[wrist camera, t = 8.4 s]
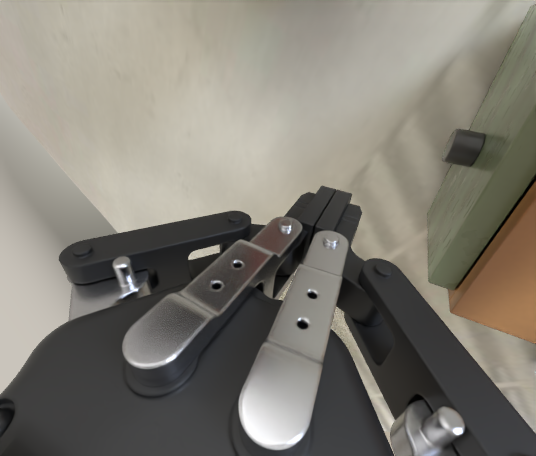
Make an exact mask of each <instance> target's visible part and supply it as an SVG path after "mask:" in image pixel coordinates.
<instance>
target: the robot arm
mask: <svg viewBox="0 0 536 456" xmlns="http://www.w3.org/2000/svg"><path fill="white" fill-rule="evenodd" d="M351 197H352V194H351V193H348V192H344V191H340V190H337V191H336V189H333V188H329V187H325V186H321V187H320V189H319V190H318V191H317V193H316V194H314V193H310V192H308V193H306V194H303V195H301V196H300V198H299V199H298V200H297V201H296V203H295V204H294V205H293V206H292V207H291V209H290V210H289V211H288V212H287V214H286V215H285V216H284V217H277V218H274V219H273V220H271V221H270V222H269V223H268V224H267V225H257V224H251V218H250V216H249V215H248V214H246V213H244V212H241V211H228V212H223V213H218V214H213V215H208V216H203V217H198V218H193V219H188V220H183V221H178V222H173V223H168V224H163V225H158V226H153V227H148V228H143V229H138V230H133V231H128V232H123V233H118V234H113V235H108V236H103V237H98V238H93V239H88V240H83V241H79V242H76V243H74V244H72V245H70V246H68V247H67V248H66V249H64V250H63V251H62V252H61V254H60V256H59V261H60V263H61V265H62V267H63V268H64V270H65V272H66V274H67V278H68V281H69V283H70V284H71V286H72V291H71V302H70V312H69V321H68V322H66V323H65V324H63V325H61V326H60V327H58V328H57V329H55V330H54V331H52V332H51V333H50V334H49V335H48V336H46V337H45V338H44V339H43V340H42V341H41V342H40V343H39V344H38V346H37V347H36V348H35V349H34V350H33V352H32V354H31V355H30V357H29V358H28V360H27V361H26V363H25V364H24V366H23V367H22V369H21V370H20V372H19V373H18V374H17V376H16V377H15V378H14V379H13V381H12V382H11V383H10V385H9V386H8V387H7V388H6V389H5V390H4V391H3V392H2V393H1V394H0V456H394V454H395V456H536V434H535V432H534V431H533V430H532V429H531V428H530V426H529V425H528V424H527V423H526V422H525V420H524V419H523V418H522V417H521V416H520V414H519V413H518V412H517V411H516V409H515V408H514V407H513V406H512V405H511V403H510V402H509V401H508V400H507V399H506V397H505V396H504V395H503V394H502V393H501V391H500V390H499V389H498V388H497V386H496V385H495V384H494V383H493V382H492V380H491V379H490V378H489V377H488V376H487V374H486V373H485V372H484V371H483V370H482V368H481V367H480V366H479V365H478V363H477V362H476V361H475V360H474V359H473V357H472V356H471V355H470V354H469V353H468V351H467V350H466V349H465V348H464V347H463V345H462V344H461V343H460V342H459V340H458V339H457V338H456V337H455V336H454V334H453V333H452V332H451V331H450V330H449V328H448V327H447V326H446V325H445V324H444V322H443V321H442V320H441V319H440V317H439V316H438V315H437V314H436V313H435V311H434V310H433V309H432V308H431V307H430V305H429V304H428V303H427V302H426V301H425V299H424V298H423V297H422V296H421V294H420V293H419V292H418V291H417V290H416V288H415V287H414V286H413V285H412V284H411V282H410V281H409V280H408V279H407V278H406V276H405V275H404V274H403V273H402V271H401V270H400V269H399V268H398V267H397V266H396V265H394V264H393V263H391V262H389V261H386V260H383V259H377V258H373V259H369V260H367V261H364V260H362V259H361V258H359V257H358V256H357V255H356V254H355V253H354V252H353V251H352V249H351V244H352V242H353V239H354V236H355V233H356V230H357V227H358V224H359V221H360V218H361V215H362V211H361V209H360V206H356V205H353V204H350V200H351ZM219 244H220V253H216V254H212V255H209V256H205V257H201V258H197V259H193V260H188V256H189V255H190V253H191V252H193V251H195V250H198V249H202V248H207V247H211V246H215V245H219ZM297 267H298V268H297ZM296 269H297V271H296ZM295 271H296V273H295ZM294 273H295V275H294ZM293 277H294V278H293ZM292 279H293V280H292ZM291 281H292V282H291ZM290 282H291V284H290V287H289V289H288V291H287V294H286V296H285V298H284V300H283V301H282V300H278V299H279V298H280V296H281V295H282V293H283V292H284V291H285V289H286V288H287V286H288V285H289V283H290ZM336 306H337V307H338V308H340V309H341V310H342V311H344V312H345V314H344V318H345V321H346V323H347V325H348V327H349V329H350V331H351V333H352V335H353V337H354V339H355V341H356V343H357V345H358V347H359V349H360V351H361V353H362V355H363V357H364V359H365V361H366V363H367V365H368V367H369V369H370V371H371V373H372V375H373V377H374V379H375V381H376V383H377V385H378V387H379V389H380V391H381V393H382V395H383V397H384V399H385V401H386V403H387V405H388V407H389V409H390V411H391V413H392V415H393V417H394V419H395V422H394V423H393V425H392V427H391V432H390V439H391V445H392V448H393V451H394V454H393V451H392V449H391V447H390V444H389V442H388V440H387V438H386V436H385V433H384V431H383V428H382V426H381V424H380V421H379V419H378V417H377V414H376V412H375V410H374V407H373V405H372V403H371V400H370V398H369V396H368V393H367V391H366V389H365V386H364V384H363V382H362V379H361V377H360V375H359V372H358V370H357V368H356V365H355V363H354V361H353V358H352V356H351V354H350V352H349V350H348V349H347V347H346V345H345V344H344V343H343V341H342V340H341V339H340V338H339V336H338V335H337V334H336V333H335V332H334V331H333V330H331V325H332V321H333V317H334V312H335V308H336Z"/></svg>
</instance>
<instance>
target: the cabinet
mask: <svg viewBox="0 0 536 456" xmlns="http://www.w3.org/2000/svg"><path fill="white" fill-rule="evenodd" d="M448 294H449V305H450V313H453V314H455V315H458V316H461V317H464V318H466V319H469V320H472V321H475V322H477V323H480V324H483V325H485V326H488V327H491V328H494V329H496V330H499V331H502V332H505V333H507V334H510V335H513V336H516V337H518V338H521V339H524V340H527V341H529V342H532V343H535V344H536V181H535V182H534V184H533V185H532V187H531V188H530V189H529V191H528V192H527V194H526V195H525V196H524V198H523V199H522V201H521V202H520V203H519V205H518V206H517V208H516V209H515V210H514V212H513V213H512V214H511V216H510V217H509V219H508V220H507V221H506V223H505V224H504V226H503V227H502V228H501V230H500V231H499V233H498V234H497V235H496V237H495V238H494V240H493V241H492V242H491V244H490V245H489V246H488V248H487V249H486V251H485V252H484V253H483V251H482V252H481V253H480V255H479V256H478V257H477V259H476V260H475V262H474V263H473V264H472V266H471V267H470V269H469V270H468V271H467V273H466V274H465V276H464V277H463V279H462V280H461V281H460V283H459V284H458V286H457V287H456V288H455V290H450V289H448Z"/></svg>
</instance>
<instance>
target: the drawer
mask: <svg viewBox="0 0 536 456" xmlns="http://www.w3.org/2000/svg"><path fill="white" fill-rule="evenodd" d="M442 160H443V162H447V163H451V164H452V165H451V167H450V169H449V171H448V173H447V175H446V177H445V179H444V181H443V183H442V185H441V187H440V189H439V191H438V193H437V195H436V197H435V199H434V201H433V203H432V205H431V207H430V209H429V211H428V213H427V228H428V282H429V283H432V284H435V285H438V286H441V287H444V288H447V289H450V290H455V288H456V287H457V286H458V284H459V283H460V281H461V280H462V279H463V277H464V276H465V274H466V273H467V271H468V270H469V269H470V267H471V266H472V264H473V263H474V262H475V260H476V259H477V257H478V256H479V255H480V253H481V252H482V251H483V253H484V252H485V251H486V249H487V248H488V246H489V245H490V244H491V242H492V241H493V240H494V238H495V237H496V235H497V234H498V233H499V231H500V230H501V228H502V227H503V226H504V224H505V223H506V221H507V220H508V219H509V217H510V216H511V214H512V213H513V212H514V210H515V209H516V208H517V206H518V205H519V203H520V202H521V201H522V199H523V198H524V196H525V195H526V194H527V192H528V191H529V189H530V188H531V187H532V185H533V184H534V182H535V181H536V4H535V5H533V6H531V7H530V9H529V11H528V13H527V15H526V17H525V19H524V21H523V23H522V25H521V27H520V29H519V31H518V33H517V35H516V37H515V39H514V41H513V43H512V45H511V47H510V49H509V51H508V53H507V55H506V57H505V59H504V61H503V63H502V65H501V67H500V69H499V71H498V73H497V75H496V77H495V79H494V81H493V83H492V85H491V87H490V89H489V91H488V93H487V95H486V97H485V99H484V101H483V103H482V105H481V107H480V109H479V111H478V113H477V115H476V117H475V119H474V121H473V123H472V125H471V127H470V129H469V130H463V129H456V130H455V131H454V132H453V133H452V135H451V137H450V139H449V141H448V143H447V145H446V147H445V150H444V153H443V158H442Z"/></svg>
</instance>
